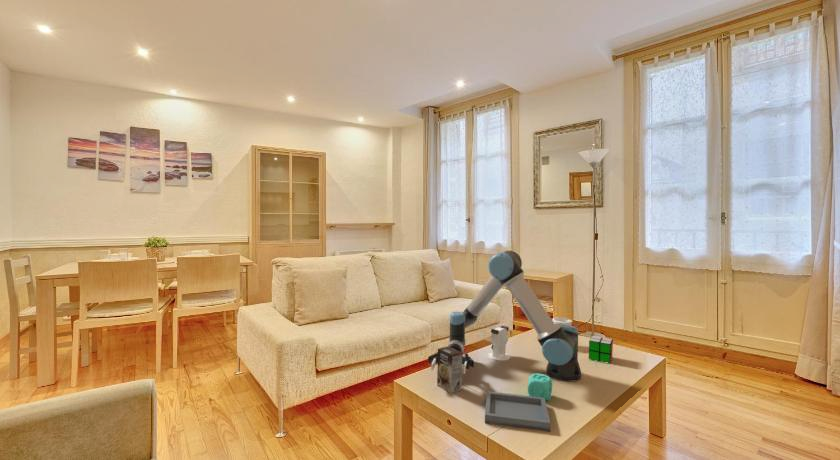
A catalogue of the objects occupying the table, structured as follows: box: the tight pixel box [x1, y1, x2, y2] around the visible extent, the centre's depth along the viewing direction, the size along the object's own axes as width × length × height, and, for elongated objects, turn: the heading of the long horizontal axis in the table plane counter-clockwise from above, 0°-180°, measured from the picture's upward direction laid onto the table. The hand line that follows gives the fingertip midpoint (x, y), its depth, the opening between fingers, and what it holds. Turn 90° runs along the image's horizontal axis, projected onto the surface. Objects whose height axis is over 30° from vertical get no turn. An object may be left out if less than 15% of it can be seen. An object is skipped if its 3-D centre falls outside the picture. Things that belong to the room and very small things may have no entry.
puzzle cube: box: [588, 335, 614, 364], centre depth 193 cm, size 10×10×10 cm
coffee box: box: [436, 345, 463, 394], centre depth 158 cm, size 9×6×16 cm
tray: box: [484, 391, 551, 432], centre depth 138 cm, size 22×18×3 cm
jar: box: [551, 316, 573, 325], centre depth 211 cm, size 11×10×15 cm
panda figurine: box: [487, 325, 511, 362], centre depth 194 cm, size 12×11×15 cm
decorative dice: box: [527, 372, 553, 402], centre depth 151 cm, size 8×8×8 cm
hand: (448, 369), depth 156 cm, fingers open, 13 cm apart
